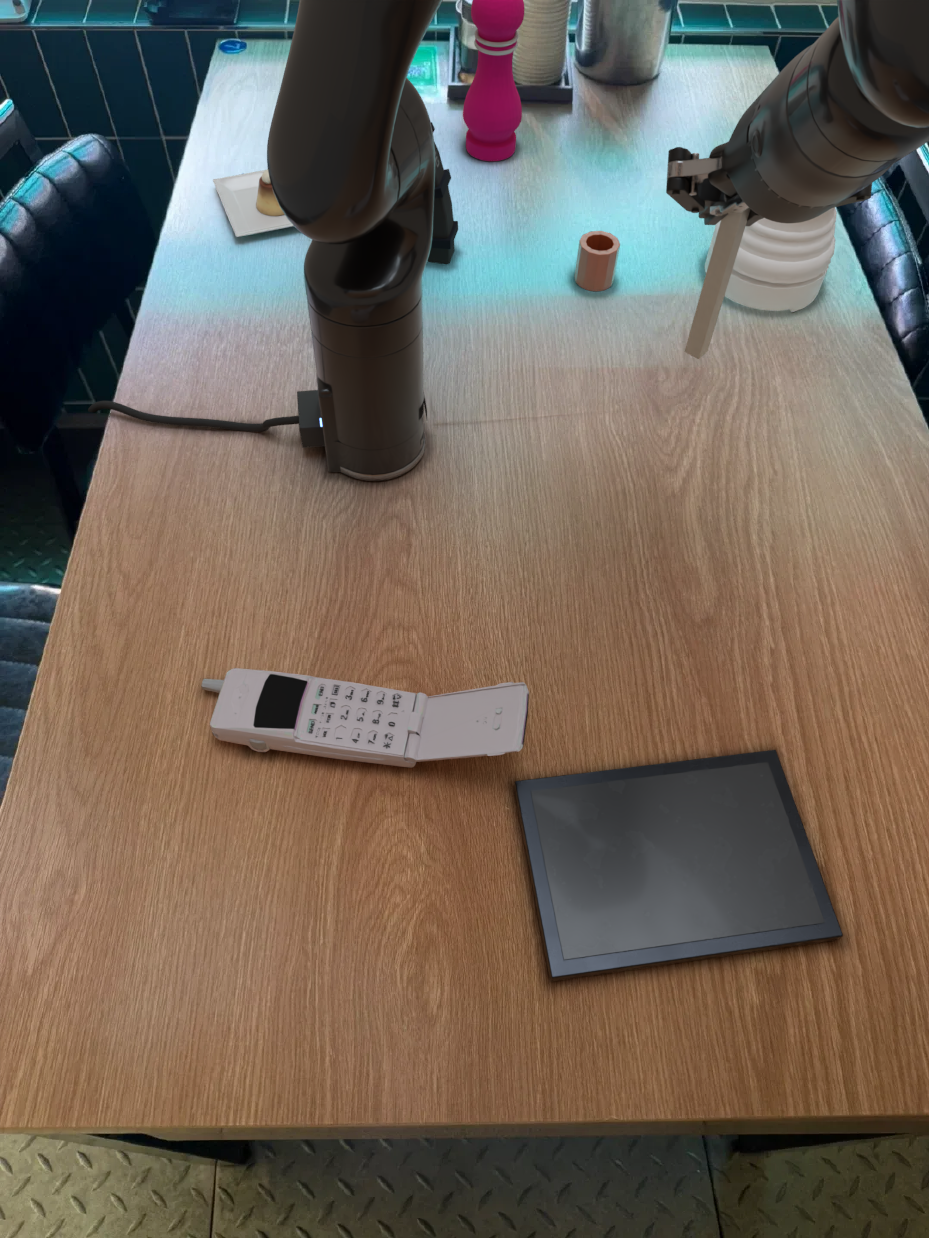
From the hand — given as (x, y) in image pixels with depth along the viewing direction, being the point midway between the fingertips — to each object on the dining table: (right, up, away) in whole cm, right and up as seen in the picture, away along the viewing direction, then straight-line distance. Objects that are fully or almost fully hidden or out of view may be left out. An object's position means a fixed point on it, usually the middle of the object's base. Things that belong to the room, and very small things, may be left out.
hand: (726, 210), depth 68 cm
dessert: (-41, +19, +43) cm, 62 cm away
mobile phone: (-27, -38, +4) cm, 47 cm away
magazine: (-27, +12, +39) cm, 48 cm away
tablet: (-4, -46, -1) cm, 47 cm away
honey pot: (+14, +9, +38) cm, 41 cm away
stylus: (0, -8, +8) cm, 11 cm away
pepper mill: (-16, +30, +51) cm, 61 cm away
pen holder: (-5, +8, +36) cm, 37 cm away
